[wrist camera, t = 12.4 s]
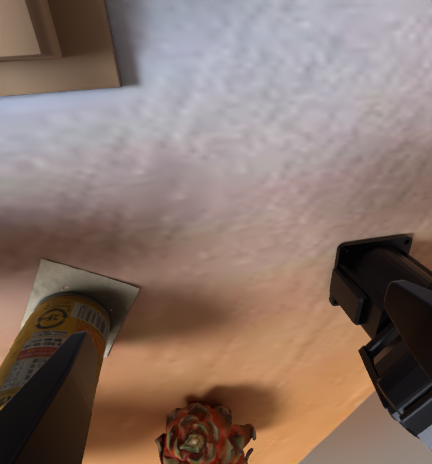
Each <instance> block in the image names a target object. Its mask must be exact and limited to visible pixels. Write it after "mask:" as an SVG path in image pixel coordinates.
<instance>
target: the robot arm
mask: <svg viewBox="0 0 432 464" xmlns="http://www.w3.org/2000/svg"><path fill="white" fill-rule="evenodd" d="M411 243H412V238H411V237H410V236H408V235H399V236H392V237H385V238H378V239H371V240H364V241H357V242H350V243H343V244H341V245H339V246H338V248H337V253H336V259H335V265H334V269H333V272H332V279H331V285H330V297H329V301H330V303H331V304H332V305H333V306H338V305H340V306H341V307H342V309H343V310H344V311H345V313H346V314H347V315H348V317H349V318H350V319H351V321H352V322H353V323H354V324H355V325H361V326H362V328H363V329H364V330H365V331H366V333H367V334H368V335H369V337H370V338H371V339H372V340H371V341H370V342H369V343H368V344H366V345H365V346H362V347H361V348H360V349H359V350H358V351H359V353H360V356H361V358H362V360H363V363H364V365H365V367H366V370H367V372H368V374H369V376H370V378H371V380H372V383H373V385H374V387H375V389H376V391H377V393H378V396H379V398H380V400H381V402H382V404H383V406H384V408H385V409H386V410H387V411H388V412H389V414H390V415H391V417H392V418H393V419H394V420H396V421H398V422H399V423H400V424H401V425H402V426H403V427H404V428H405V429H406V430H408V431H409V432H410V433H411V434H412V435H414V436H416V437H417V438H419V439H421V440H422V441H423V442H424V443H425V444H426V446H427V447H428V448H429V449H430V450H431V451H432V271H430V270H429V269H428V268H426V267H425V266H424V265H422V264H421V263H419V262H418V261H417V260H415V259H414V258H413V257H411V256H410V255H409V254H408V253H409V250H410V247H411ZM343 249H345V250H344V251H343ZM96 367H97V350H96V348H95V345H94V342H93V340H92V337H91V335H90V333H89V332H88V331H81V332H75V333H72V334H71V335H70V336H69V337H68V338H67V339H66V340H65V341H64V342H63V343H62V344H61V345H60V347H59V348H58V349H57V350H56V351H55V352H54V353H53V354H52V355H51V356H50V357H49V358H48V359H47V360H46V362H45V363H44V364H43V365H42V366H41V367H40V368H39V369H38V370H37V371H36V372H35V373H34V374H33V375H32V376H31V378H30V379H29V380H28V381H27V382H26V383H25V384H24V385H23V386H22V387H21V388H20V389H19V390H18V391H17V393H16V394H15V395H14V396H13V397H12V398H11V399H10V400H9V401H8V402H7V403H6V404H5V405H4V406H3V407H2V409H1V410H0V464H82V459H83V454H84V450H85V445H86V440H87V435H88V431H89V426H90V420H91V415H92V407H93V397H94V387H95V377H96Z"/></svg>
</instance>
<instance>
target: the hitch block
mask: <svg viewBox="0 0 432 464" xmlns="http://www.w3.org/2000/svg"><path fill="white" fill-rule="evenodd" d="M121 86H122V83H121V78H120V73H119V68H118V63H117V58H116V53H115V47H114V42H113V37H112V32H111V27H110V22H109V17H108V12H107V7H106V2H105V0H0V96H9V95H22V94H34V93H47V92H60V91H73V90H85V89H98V88H111V87H121Z"/></svg>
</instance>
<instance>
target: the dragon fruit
mask: <svg viewBox="0 0 432 464" xmlns="http://www.w3.org/2000/svg"><path fill="white" fill-rule="evenodd" d="M231 419H232V416H231V410H230V409H229V408H227V407H224V406H222V405H219V406H216V407H214V408H212V409H211V408H210V406H209V405H208V404H206V403H200V402H198V403H192V404H188V405H187V407H186V408H185V410H184V409H180V408H176V409H175V410H173V411H172V412H171V413H170V414H168V415H167V421H166V434H164V433H163V434H162V435H161V436H159V437H158V438H157V439H156V440H155V442H156V443H157V445H158V450H159V457H160V462H161V464H247V463H248V462H247V461H248V458H249V456H250V454H251V453H252V451H253V448H251V449H249V450H248V452H247V454H246V457H245V455H244V451H243V448H244V447H245V446H246V445H247V444H248V443H249V441H250V440H251V438H253V440H256V431H255V428H254V427H253V426H252V425H251V424H246V425H244V426H243V425H233V424H232V423H231Z"/></svg>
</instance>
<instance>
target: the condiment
mask: <svg viewBox="0 0 432 464" xmlns="http://www.w3.org/2000/svg"><path fill="white" fill-rule="evenodd" d="M65 286H69V287H68V288H66V289H64V287H65ZM62 288H63V289H64V290H63V291H60V290H59V289H62ZM138 291H139V288H136V287H133V286H130V285H128V284H126V283H122V282H119V281H116V280H112V279H109V278H107V277H104V276H100V275H97V274H93V273H90V272H87V271H85V270H79V269H75V268H72V267H69V266H66V265H63V264H58V263H54V262H51V261H47V260H44V259H41V262H40V265H39V268H38V272H37V275H36V278H35V281H34V285H33V288H32V291H31V294H30V298H29V301H28V305H27V308H26V311H25V314H24V317H23V321H22V324H21V327H20V330H19V333H18V336H17V337H16V339H15V341H14V343H13V345H12V347H11V348H10V351H9V353H8V355H7V356H6V358H5V359H4V361H3V363H2V365H1V367H0V410H1V409H2V407H3V406H4V405H5V404H6V403H7V402H8V401H9V400H10V399H11V398H12V397H13V396H14V395H15V394H16V393H17V391H18V390H19V389H20V388H21V387H22V386H23V385H24V384H25V383H26V382H27V381H28V380H29V379H30V378H31V376H32V375H33V374H34V373H35V372H36V371H37V370H38V369H39V368H40V367H41V366H42V365H43V364H44V363H45V362H46V360H47V359H48V358H49V357H50V356H51V355H52V354H53V353H54V352H55V351H56V350H57V349H58V348H59V347H60V345H61V344H62V343H63V342H64V341H65V340H66V339H67V338H68V337H69V336H70V335H71V334H72V333H75V332H81V331H88V332H89V333H90V335H91V337H92V340H93V342H94V345H95V348H96V350H97V367H96V377H95V387H94V397H95V392H96V388H97V384H98V381H99V375H100V370H101V366H102V362H103V358H106V357H107V354H108V352H109V350H110V348H111V346H112V344H113V342H114V340H115V338H116V336H117V334H118V332H119V329H120V328H121V326H122V323H123V322H124V320H125V318H126V316H127V313H128V312H129V309H130V307H131V305H132V303H133V301H134V299H135V298H136V295H137V293H138ZM111 309H112V311H111ZM94 397H93V401H94Z"/></svg>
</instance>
